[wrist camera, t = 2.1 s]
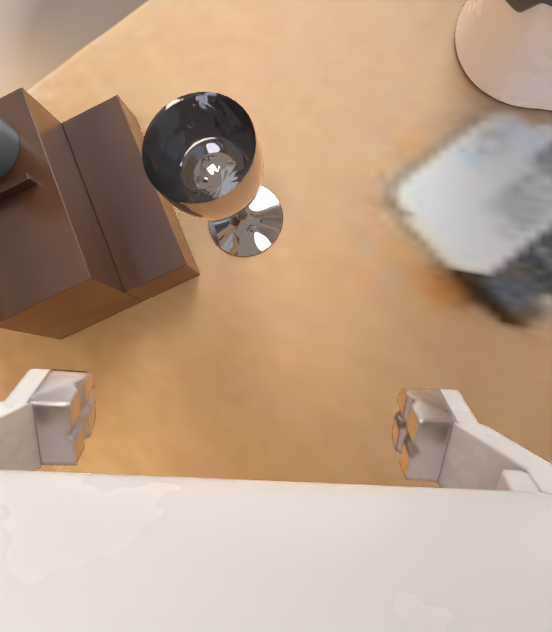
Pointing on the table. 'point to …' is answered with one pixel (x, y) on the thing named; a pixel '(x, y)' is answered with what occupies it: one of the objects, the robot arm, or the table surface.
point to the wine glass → (213, 170)
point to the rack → (81, 221)
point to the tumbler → (7, 147)
